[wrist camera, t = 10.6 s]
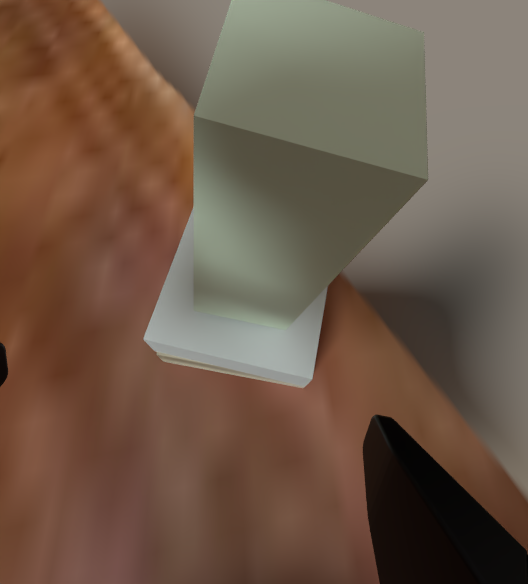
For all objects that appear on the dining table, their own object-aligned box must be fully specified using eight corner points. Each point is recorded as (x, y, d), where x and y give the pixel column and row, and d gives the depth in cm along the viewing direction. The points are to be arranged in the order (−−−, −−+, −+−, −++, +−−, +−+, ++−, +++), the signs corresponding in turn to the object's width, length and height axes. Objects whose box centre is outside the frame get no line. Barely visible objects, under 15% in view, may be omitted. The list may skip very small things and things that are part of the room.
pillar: (285, 330, 19) (427, 179, 7) (193, 310, 18) (193, 115, 7) (296, 250, 21) (424, 32, 9) (213, 230, 20) (240, -27, 9)
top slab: (304, 386, 20) (312, 379, 18) (154, 351, 21) (143, 339, 18) (327, 254, 24) (336, 234, 21) (199, 226, 24) (195, 203, 22)
